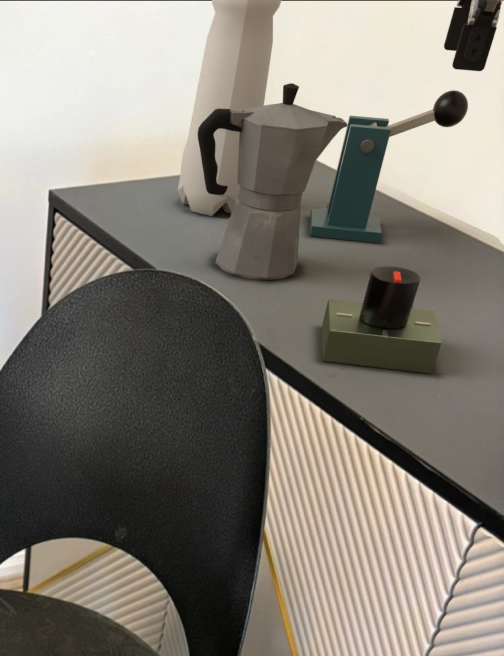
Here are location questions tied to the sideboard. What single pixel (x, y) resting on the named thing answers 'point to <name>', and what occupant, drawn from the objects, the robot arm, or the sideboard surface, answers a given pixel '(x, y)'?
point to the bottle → (227, 94)
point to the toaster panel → (379, 339)
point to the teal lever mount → (355, 184)
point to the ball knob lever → (436, 113)
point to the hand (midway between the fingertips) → (462, 59)
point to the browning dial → (389, 297)
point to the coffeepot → (266, 181)
